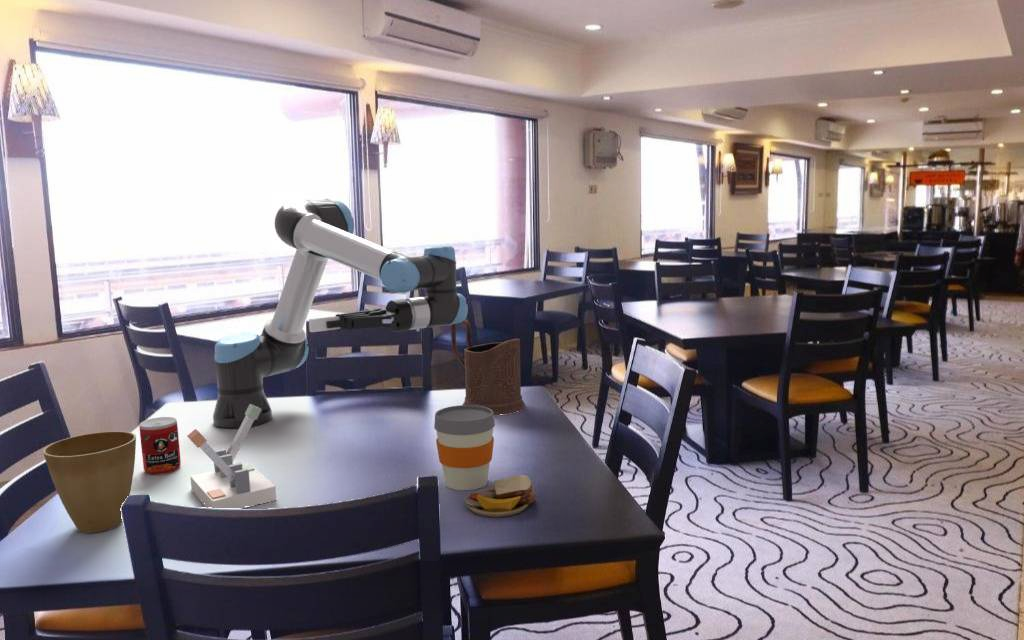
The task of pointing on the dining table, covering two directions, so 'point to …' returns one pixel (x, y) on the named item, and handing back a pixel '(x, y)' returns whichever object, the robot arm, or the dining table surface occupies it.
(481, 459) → the reusable coffee cup
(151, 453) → the canned food
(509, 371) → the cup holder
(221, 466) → the lever
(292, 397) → the dining table surface
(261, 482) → the console
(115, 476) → the plant pot
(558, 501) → the dining table surface
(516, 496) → the toy sandwich meal
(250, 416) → the lever
